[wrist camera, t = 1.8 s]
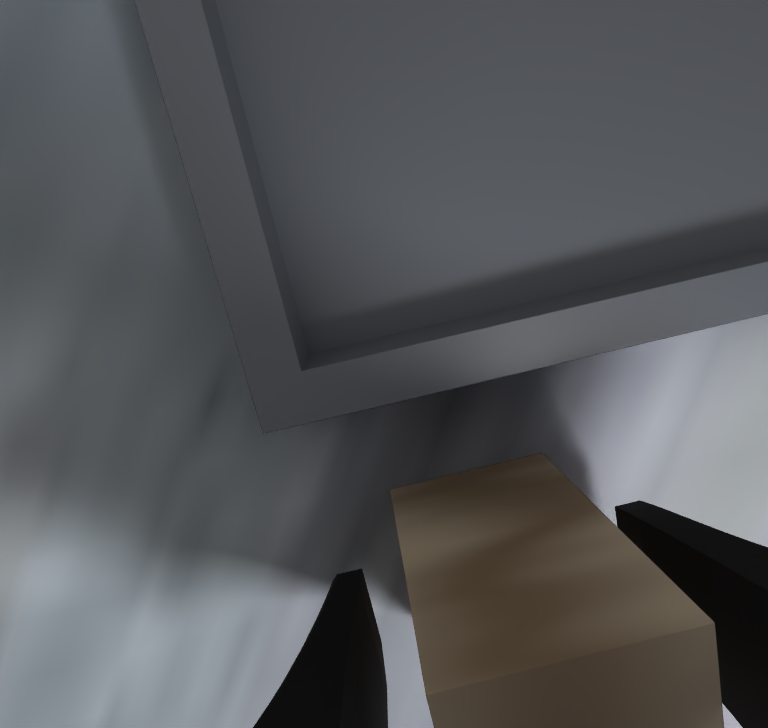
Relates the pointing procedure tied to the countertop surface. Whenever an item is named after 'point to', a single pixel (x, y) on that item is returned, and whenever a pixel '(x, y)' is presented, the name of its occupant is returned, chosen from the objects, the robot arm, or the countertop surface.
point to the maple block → (546, 609)
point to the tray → (465, 182)
